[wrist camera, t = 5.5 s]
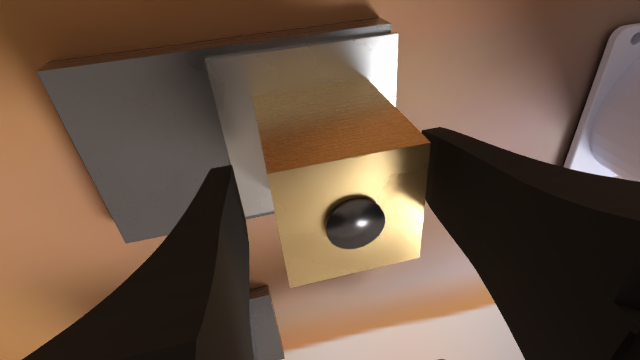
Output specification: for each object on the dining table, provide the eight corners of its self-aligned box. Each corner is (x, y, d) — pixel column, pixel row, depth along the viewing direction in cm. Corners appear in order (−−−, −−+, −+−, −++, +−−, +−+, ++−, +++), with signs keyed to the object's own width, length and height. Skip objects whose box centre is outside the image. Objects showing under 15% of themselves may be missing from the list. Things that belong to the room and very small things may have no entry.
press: (385, 16, 13) (458, 55, 9) (378, 325, 24) (411, 406, 20) (14, 66, 12) (-95, 140, 8) (184, 374, 22) (176, 473, 18)
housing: (365, 76, 13) (434, 146, 9) (366, 171, 15) (422, 262, 11) (251, 95, 13) (267, 178, 8) (270, 190, 15) (291, 293, 11)
